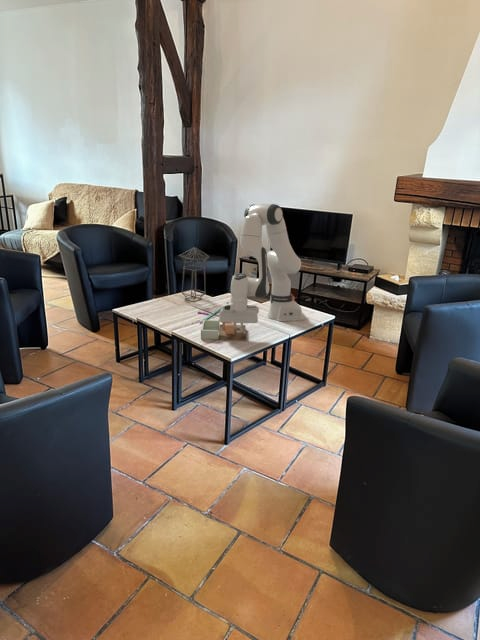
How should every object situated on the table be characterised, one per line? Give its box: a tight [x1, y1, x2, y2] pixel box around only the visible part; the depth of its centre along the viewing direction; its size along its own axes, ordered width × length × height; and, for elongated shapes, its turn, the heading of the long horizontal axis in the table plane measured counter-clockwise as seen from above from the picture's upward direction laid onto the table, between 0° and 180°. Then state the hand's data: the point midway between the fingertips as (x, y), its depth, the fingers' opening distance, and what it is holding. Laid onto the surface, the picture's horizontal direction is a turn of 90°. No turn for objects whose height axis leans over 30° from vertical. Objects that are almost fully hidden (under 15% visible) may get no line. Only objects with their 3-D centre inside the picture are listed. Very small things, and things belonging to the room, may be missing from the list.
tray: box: [200, 319, 221, 341], centre depth 236 cm, size 9×16×5 cm, turn 0°
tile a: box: [225, 323, 235, 334], centre depth 232 cm, size 5×5×4 cm
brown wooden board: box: [218, 324, 247, 341], centre depth 236 cm, size 14×16×2 cm
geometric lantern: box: [178, 246, 211, 303], centre depth 288 cm, size 16×16×35 cm
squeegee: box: [197, 307, 222, 325], centre depth 265 cm, size 29×2×10 cm
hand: (238, 330), depth 232 cm, fingers closed
